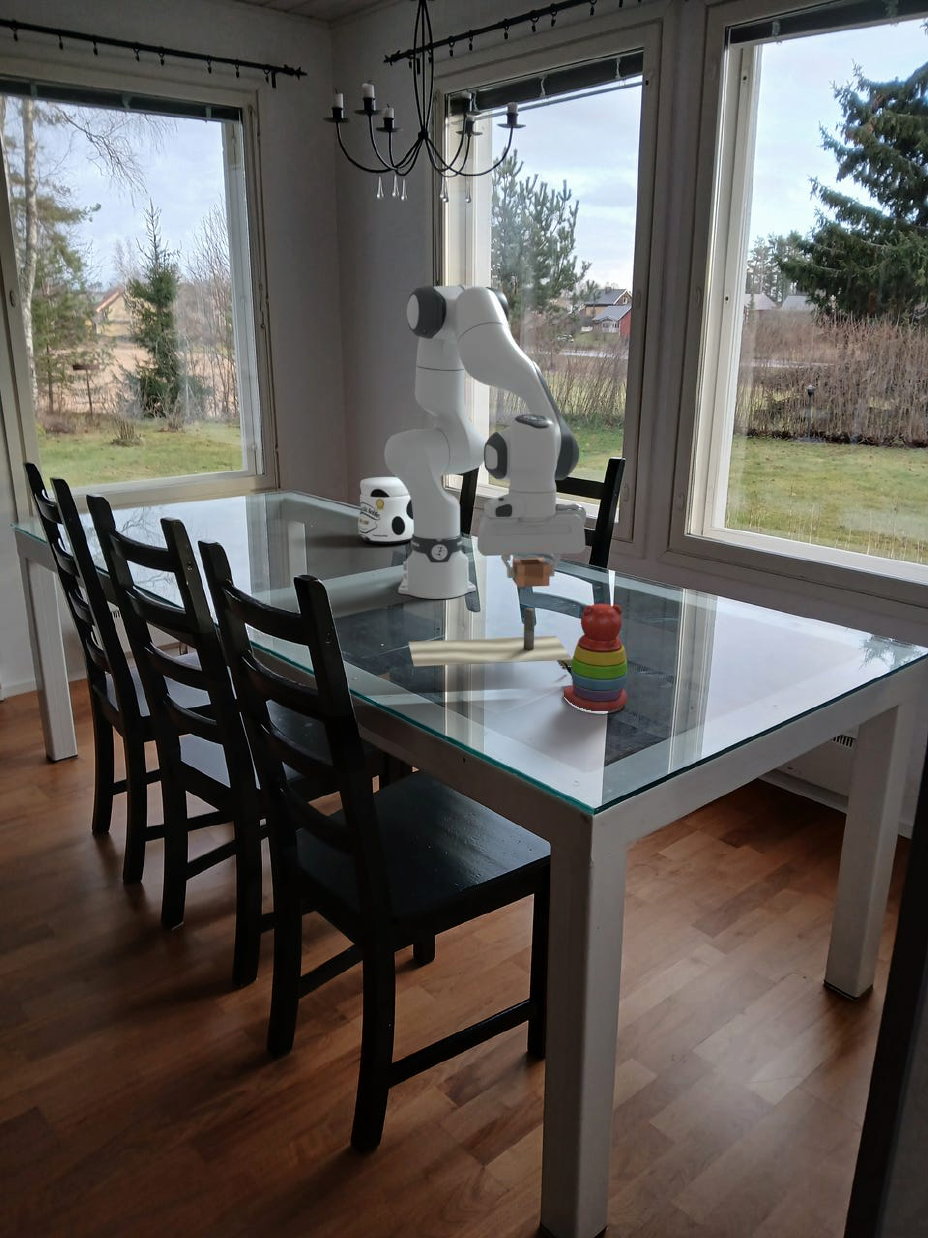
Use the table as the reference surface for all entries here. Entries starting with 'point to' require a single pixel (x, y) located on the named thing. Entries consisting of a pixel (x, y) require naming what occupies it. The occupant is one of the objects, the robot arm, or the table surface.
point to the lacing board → (491, 649)
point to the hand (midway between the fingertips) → (530, 576)
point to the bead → (531, 572)
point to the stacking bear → (599, 661)
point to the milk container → (385, 511)
